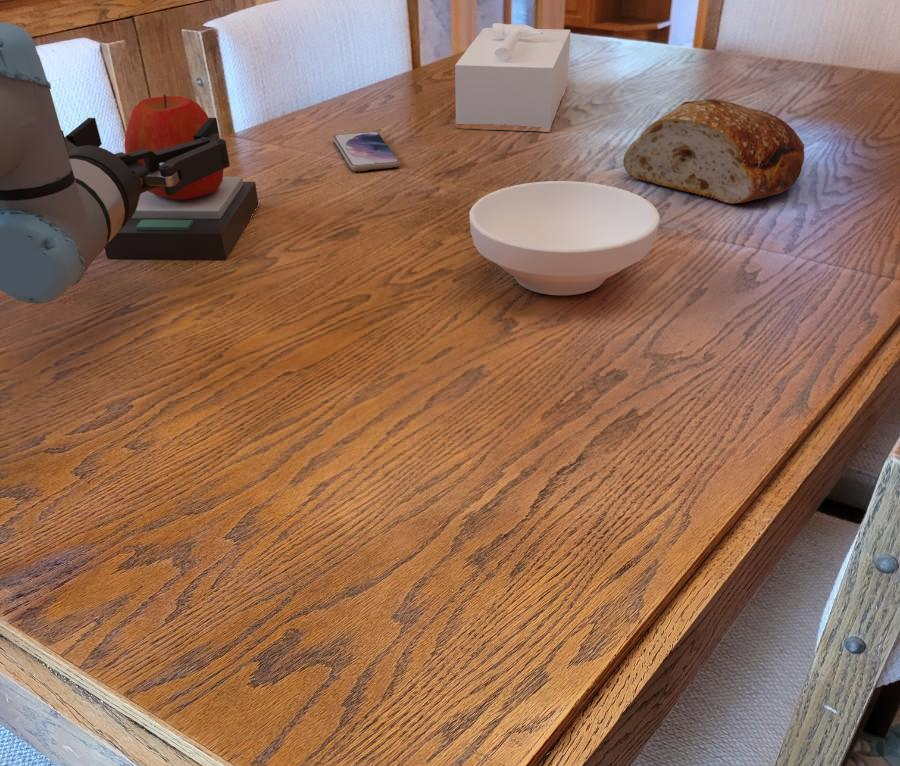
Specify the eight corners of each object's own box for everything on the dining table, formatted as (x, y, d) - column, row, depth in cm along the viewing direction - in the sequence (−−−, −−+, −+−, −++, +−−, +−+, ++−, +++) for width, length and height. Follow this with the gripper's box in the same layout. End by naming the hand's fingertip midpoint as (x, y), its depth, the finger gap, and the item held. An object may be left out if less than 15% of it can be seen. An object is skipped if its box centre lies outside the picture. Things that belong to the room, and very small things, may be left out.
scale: (107, 258, 104) (97, 223, 101) (152, 205, 116) (145, 172, 114) (225, 259, 103) (219, 224, 101) (259, 206, 116) (253, 173, 113)
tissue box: (566, 88, 154) (571, 13, 146) (549, 132, 136) (553, 49, 128) (483, 85, 156) (484, 11, 149) (455, 128, 138) (454, 47, 131)
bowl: (432, 277, 99) (430, 211, 94) (559, 231, 108) (563, 168, 103) (559, 340, 88) (564, 268, 83) (688, 282, 97) (700, 215, 92)
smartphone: (378, 130, 135) (401, 161, 125) (378, 137, 136) (401, 168, 125) (331, 134, 134) (351, 166, 123) (332, 140, 134) (351, 172, 124)
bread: (616, 178, 121) (625, 95, 114) (700, 147, 129) (712, 68, 123) (745, 218, 109) (763, 129, 103) (827, 182, 118) (849, 97, 111)
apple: (122, 207, 105) (96, 106, 98) (159, 175, 113) (137, 80, 106) (210, 210, 104) (190, 108, 96) (241, 178, 111) (225, 82, 104)
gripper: (-27, 239, 88) (56, 166, 103) (225, 240, 86) (271, 167, 102) (-58, 156, 82) (34, 93, 98) (209, 157, 81) (260, 93, 96)
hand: (155, 130), depth 100 cm, fingers open, 13 cm apart
